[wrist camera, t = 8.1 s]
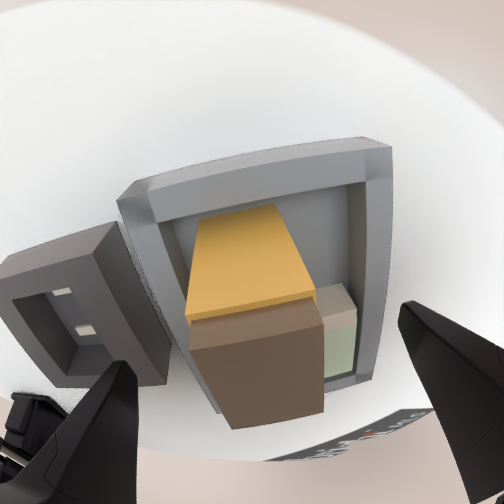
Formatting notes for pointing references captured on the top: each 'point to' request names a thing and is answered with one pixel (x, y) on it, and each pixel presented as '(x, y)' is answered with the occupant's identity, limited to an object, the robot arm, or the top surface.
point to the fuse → (337, 328)
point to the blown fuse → (255, 319)
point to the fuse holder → (83, 309)
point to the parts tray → (296, 221)
